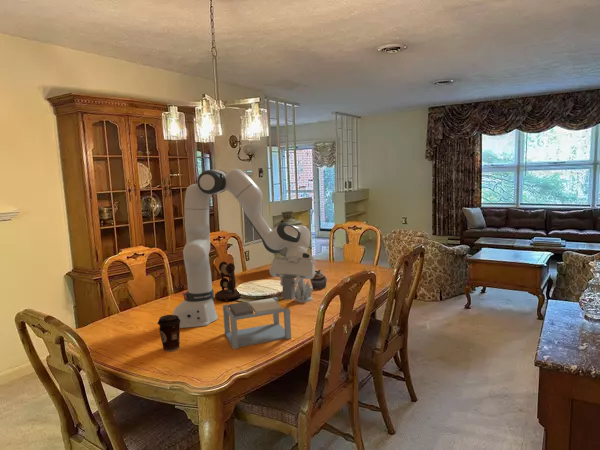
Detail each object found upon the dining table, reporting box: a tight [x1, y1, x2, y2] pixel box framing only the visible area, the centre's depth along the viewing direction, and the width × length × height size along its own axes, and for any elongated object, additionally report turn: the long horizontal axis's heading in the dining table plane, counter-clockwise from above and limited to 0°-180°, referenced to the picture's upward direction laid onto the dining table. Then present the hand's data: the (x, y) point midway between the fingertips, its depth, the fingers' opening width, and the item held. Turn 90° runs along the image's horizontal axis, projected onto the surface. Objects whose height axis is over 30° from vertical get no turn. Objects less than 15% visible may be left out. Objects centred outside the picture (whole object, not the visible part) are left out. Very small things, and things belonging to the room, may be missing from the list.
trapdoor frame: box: [222, 296, 292, 350], centre depth 174 cm, size 24×18×12 cm
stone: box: [281, 276, 296, 301], centre depth 179 cm, size 4×4×9 cm
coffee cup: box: [156, 314, 181, 352], centre depth 165 cm, size 9×8×13 cm
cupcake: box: [309, 269, 328, 290], centre depth 242 cm, size 10×10×10 cm
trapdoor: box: [229, 297, 283, 317], centre depth 173 cm, size 19×13×3 cm
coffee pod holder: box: [214, 261, 241, 303], centre depth 228 cm, size 15×15×20 cm
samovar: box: [273, 210, 313, 258], centre depth 286 cm, size 30×26×40 cm
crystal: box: [293, 278, 314, 303], centre depth 220 cm, size 10×13×15 cm
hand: (288, 285), depth 178 cm, fingers closed on stone, 4 cm apart
